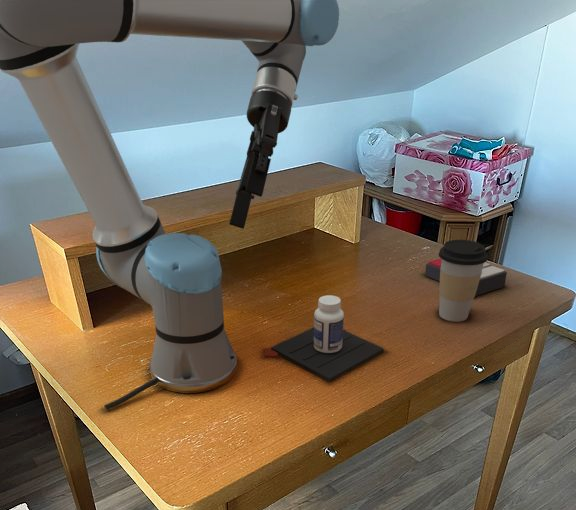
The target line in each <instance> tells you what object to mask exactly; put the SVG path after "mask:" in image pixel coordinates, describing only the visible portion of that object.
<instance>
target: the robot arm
mask: <svg viewBox="0 0 576 510" xmlns="http://www.w3.org/2000/svg"><path fill="white" fill-rule="evenodd" d="M339 21H340V7H339V2H338V1H337V0H0V72H2V73H4V74H6V75H8V76H11V77H14V78H15V79H17V80H18V82H19V83H20V85H21V87H22V89H23V90H24V93H25V94H26V95H25V96H26V97H27V98H28V100H29V102H30V103H31V106H32V109H34V112H35V114H36V116H37V118H38V119H39V122H40V123H41V125H42V127H43V129H44V130H45V133H46V134H47V136H48V138H49V140H50V142H51V144H52V146H53V147H54V149H55V151H56V153H57V155H58V157H59V159H60V161H61V163H62V165H63V166H64V168H65V170H66V172H67V173H68V176H69V177H70V180H71V181H72V183H73V185H74V187H75V189H76V191H77V193H78V194H79V196H80V198H81V200H82V202H83V204H84V206H85V208H86V210H87V212H88V213H89V215H90V217H91V219H92V221H93V223H94V225H95V226H94V228H93V231H92V240H93V242H94V244H95V245H96V248H95V254H96V255H95V256H96V259H97V263H98V265H99V268H100V269H101V272H103V274H104V275H105V276H106V277H107V278H108V280H110V281H111V282H112V283H113V284H114V285H116V286H118V287H119V288H121V289H123V290H125V291H127V292H129V293H130V294H132V295H133V296H135V297H137V298H138V299H140V300H142V301H143V302H145V303H146V304H148V305H150V306H151V308H152V315H153V322H154V329H155V339H154V343H153V348H152V352H151V358H150V362H149V370H150V377H151V379H150V380H149V381H147V382H145V383H143V384H142V385H140V386H138V387H136V388H134V389H133V390H131V391H129V392H128V393H127V394H125V395H123V396H121V397H120V398H117V399H115V400H113V401H111V402H109V403H106V404H104V409H105V410H106V411H109V410H111V409H113V408H115V407H117V406H119V405H121V404H124V403H125V402H127V401H129V400H130V399H132V398H134V397H135V396H137V395H139V394H141V393H143V392H144V391H146V390H147V389H149V388H151V387H153V386H154V385H157V386H158V387H160V388H162V389H165V390H167V391H169V392H174V393H180V394H195V393H197V394H198V393H202V392H207V391H208V392H209V391H212V390H214V389H217V388H220V387H222V386H224V385H226V384H227V383H228V382H230V381H231V380H232V379H233V378H234V377H235V376H236V373H237V370H238V359H237V355H236V354H237V353H235V350H234V348H233V346H232V343H231V341H230V338H229V336H228V334H227V332H226V329H225V320H224V317H225V316H224V301H223V283H222V275H223V269H222V265H221V260H220V255H219V251H218V250H217V248H216V246H215V245H214V244H213V243H212V242H211V241H209V240H208V239H206V238H204V237H203V236H200V235H197V234H192V233H190V234H187V233H186V232H170V233H169V232H168V233H166V231H165V228H164V226H163V223H162V222H161V219H160V217H159V215H158V213H157V211H156V209H155V208H153V207H151V206H148V205H145V204H143V203H144V202H143V201H142V199H141V197H140V195H139V192H138V191H137V188H136V185H135V184H134V181H133V180H132V176H131V175H130V173H129V171H128V168H127V165H126V164H125V162H124V160H123V157H122V155H121V152H120V151H119V148H118V147H117V144H116V142H115V139H114V138H113V135H112V133H111V131H110V129H109V126H108V124H107V122H106V120H105V118H104V115H103V113H102V111H101V109H100V106H99V104H98V103H97V100H96V98H95V95H94V93H93V90H92V89H91V87H90V85H89V81H88V80H87V78H86V76H85V73H84V72H83V71H84V70H83V69H82V67H81V64H80V62H79V60H78V58H77V55H78V54H77V53H78V50H79V47H80V44H90V43H123V42H126V41H127V39H128V38H129V37H130V35H137V36H138V35H140V36H155V37H157V36H158V37H173V38H175V37H176V38H189V39H190V38H191V39H207V40H224V41H226V40H227V41H241V42H242V43H243V44H244V45H245V46H246V48H247V49H248V50H249V51H250V53H251V54H252V56H254V58H255V59H256V60H257V61H258V65H257V71H256V74H255V76H254V77H255V78H254V80H253V81H254V82H253V85H252V88H251V92H250V93H251V95H250V98H249V102H248V106H247V110H246V120H247V122H248V123H249V125H250V126H252V128H253V130H252V131H251V133H250V136H249V145H248V148H247V151H246V158H245V162H244V165H243V169H242V172H241V176H240V178H239V182H238V186H237V188H236V190H235V195H236V196H235V199H234V203H233V206H232V211H231V216H230V219H229V223H228V224H229V226H233V227H237V228H240V229H242V230H243V229H245V225H246V222H247V218H248V213H249V210H250V206H251V201H252V200H254V199H255V196H257V197H260V198H262V197H263V194H264V190H265V185H266V181H267V177H268V173H269V169H270V164H271V160H272V158H271V157H272V156H273V155H274V149H275V148H276V147H277V146H278V136H279V134H280V133H281V134H282V133H283V132H284V131H286V129H287V128H288V127H289V121H290V117H291V114H292V107H293V104H294V101H297V100H298V97H299V96H298V94H297V93H296V90H297V87H298V82H299V80H300V79H299V78H300V75H301V71H302V68H303V64H304V60H305V58H306V54H307V47H313V46H317V47H318V46H319V47H320V46H325V45H326V44H328V43H329V42H331V40H333V38H334V37H335V35H336V32H337V31H338V27H339Z"/></svg>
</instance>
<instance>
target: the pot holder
mask: <svg viewBox="0 0 576 510" xmlns="http://www.w3.org/2000/svg"><path fill="white" fill-rule="evenodd" d="M384 351H385V349H384V348H383V347H382V346H379V345H377V344H375V343H374V342H373V343H372V342H370V341H368V340H366V339H364V338H362V337H360V336H358V335H355V334H354V333H351V332H348V331H347V330H344V329H343V340H342V348H341V349H340V350H339V351H337V352H335V353H323V352H320V351H318V350H316V349H315V347H314V326H313V327H311V328H309V329H307V330H305V331H303V332H300V333H299V334H296V335H294V336H292V337H290V338H288V339H285V340H283V341H282V342H280V343H277V344H275V345H274V346H273V345H272V346H271V347H270V348H265V351H264V358H278V357H279V356H280V357H281V358H283V359H285V360H287V361H289V362H291V363H293V364H295V365H296V366H298V367H300V368H301V369H304V370H306V371H308V372H309V373H311V374H313V375H315V376H317V377H318V378H320V379H323V380H324V381H326V382H328V383H331V382H332V381H335V380H336V379H338V378H339V377H342V376H344V375H346V374H347V373H349V372H351V371H353V370H354V369H356V368H358V367H359V366H361V365H363V364H365V363H367V362H369V361H370V360H372V359H374V358H375V357H377V356H379V355H381V354H383V353H384Z"/></svg>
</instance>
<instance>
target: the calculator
mask: <svg viewBox="0 0 576 510" xmlns="http://www.w3.org/2000/svg"><path fill="white" fill-rule="evenodd" d="M440 268H441V258H440V257H439V258H436V259H431V260H429V261H428V262H427V263H426V264H425V272H424V276H425V277H427V278H431V279H433V280H435V281H438V282H440ZM507 273H508V272H507V271H506V270H505V269H503V268H500V267H497V266H494V265H491V263H488V262H485V263H484V264H483V268H482V274H481V277H480V281H479V284H478V287H477V290H476V294H475V297H477V296H481V295H483V294H487V293H490V292H492V291H495V290H499V289H501V288H504V287H505V286H506V280H507Z"/></svg>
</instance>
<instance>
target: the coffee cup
mask: <svg viewBox="0 0 576 510" xmlns="http://www.w3.org/2000/svg"><path fill="white" fill-rule="evenodd" d="M438 257H439V259H440V258H441V268H440V281H439V289H438V293H439V306H438V307H439V308H438V309H439V310H438V312H439V313H438V316H439V317H440V318H442V319H443V320H445V321H449V322H455V323H460V322H464V321H466V320H467V319H468V318H469V314H470V311H471V308H472V304H473V301H474V299H475V297H476V296H475V294H476V290H477V287H478V284H479V281H480V277H481V274H482V268H483V264H484V263H487V262H488V260H489V258H488V252H487V250H486V246H485V245H484V244H482V243H480V242H477V241H475V240H469V239H451V240H447V241H446V242H444V243H443V246H442V247H441V248H440V249H439V252H438Z"/></svg>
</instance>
